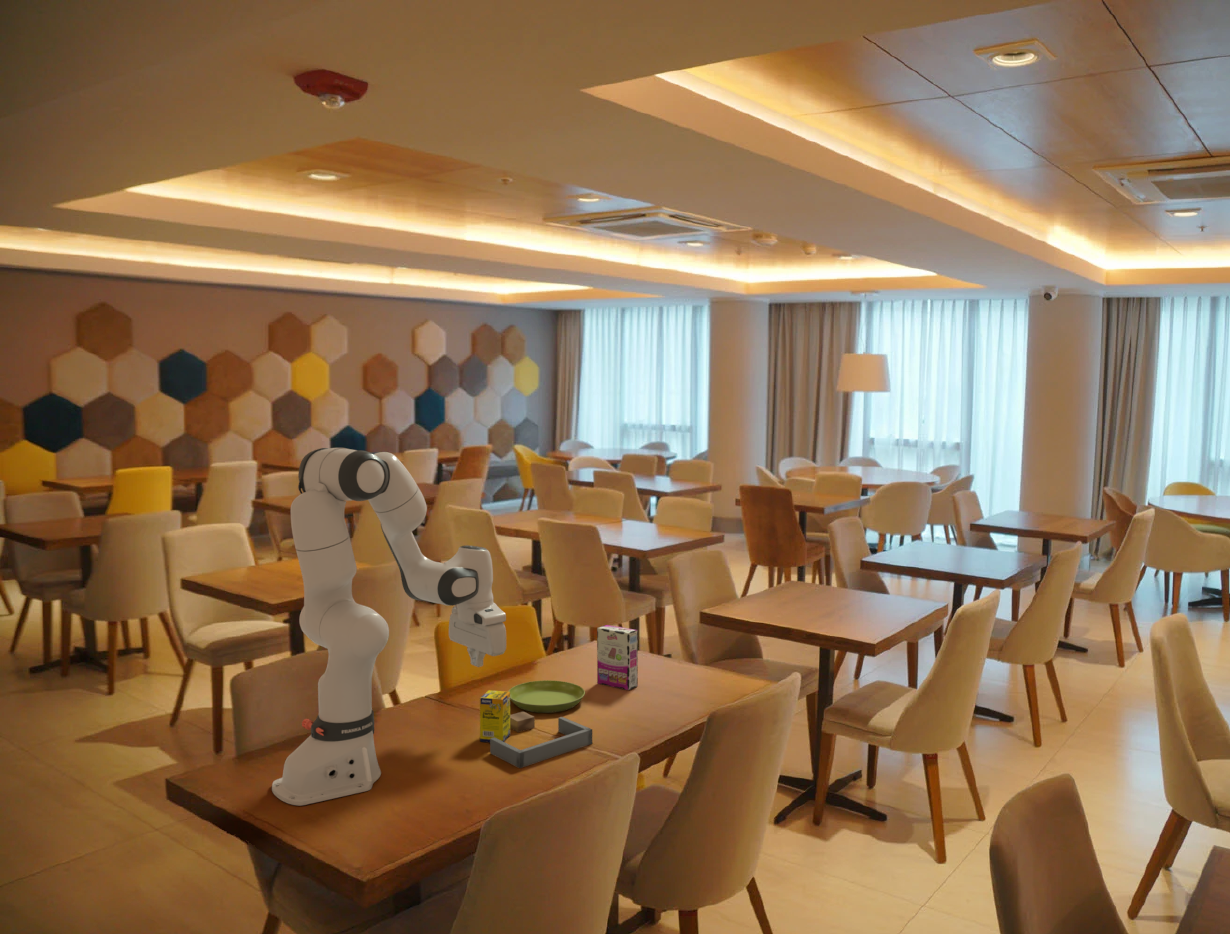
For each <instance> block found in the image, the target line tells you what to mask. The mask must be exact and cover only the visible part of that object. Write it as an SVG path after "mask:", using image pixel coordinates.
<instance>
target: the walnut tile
mask: <svg viewBox="0 0 1230 934" xmlns="http://www.w3.org/2000/svg"><path fill="white" fill-rule="evenodd" d="M535 723H536V721H535V716H534V715H531V714H529V713H527V712H525V711H520V712H517V713H516V712H515V713H513V714H510V730H513V731H514V732H516V733H520V732H524V731H528V730H530V729H534V728H536V727H535Z"/></svg>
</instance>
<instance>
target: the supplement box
mask: <svg viewBox="0 0 1230 934" xmlns="http://www.w3.org/2000/svg"><path fill="white" fill-rule="evenodd" d="M510 715H511V699H510V692H508V691H505V690H504V691H503V690H492V689H489V690H487V691H486V692H485V693H484V694H483V695H481V696H480V697H479V739H480V740H479V741H480V742H481V743H490V739H491V738H494V737H495V738H497V739H499V740H501V741H503V742H505V741H506V740H507V739H508V738H509V737H510V735H511V729H510Z"/></svg>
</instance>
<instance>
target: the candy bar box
mask: <svg viewBox="0 0 1230 934" xmlns="http://www.w3.org/2000/svg"><path fill="white" fill-rule="evenodd" d="M638 637H639V634H638V629H632V628H627V627H623V626H616V625H615V626H614V625H610V624H606V625H602V626H599V627H597V628H596V643H597V644H596V651H597V652H596V657H597V659H596V664H597V665H596V666H597V668H596V670H597V674H596V676H597V680H596V681H597V682H596V683H597V684H599V685H602V686H606V687H611V688H616V689H620V690H626V691H630V690H633V689H636V688H637V687H638V685H639V684H638V679H639V678H638V677H639V676H638V675H639V674H638V673H639V672H638V668H639V667H638V662H639V661H638V660H639V659H638V656H639V655H638V654H639V653H638V649H639V648H638V647H639V646H638V645H639V644H638Z"/></svg>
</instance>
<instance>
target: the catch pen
mask: <svg viewBox="0 0 1230 934" xmlns="http://www.w3.org/2000/svg"><path fill="white" fill-rule="evenodd" d="M557 719H558V726H557V728H558V732H559V733H561V734H563V735H562V736H561V737H558V738H554V739H551V740H548V741H544V742H541V743H539V744H535V745H532V746H529V747H526V748H523V749H520V748H519V749H518V748H517V747H515V746H513V745H511V744H509V743H507V742H505V741H504V742H503V741H501V740H499V739H497V738H495V737H494V738H491V739H490V742H489V743H490V744H489V746H490V747H489V749H490V751H489V753H490V754H491V755H493V756H495V757H497V758H499V759H501V760H503V761H504V762H506V763H508V764H511V765H512V766H514V767H516V768H519V769H522V768H524V767H527V766H531V765H533V764H536V763H539V762H542V761H546V760H548V759H551V758H554V757H556V756H560V755H563V754H566V753H569V752H571V751H575V750H577V749H581V748H583V747H586V746H589V745H592V744H593V729H592V728H590V727H587V726H585V725H582V724H580V723H578V722H576V721H574V720H571V719H568V718H566V717H563V716H560V717H558V718H557Z"/></svg>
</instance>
